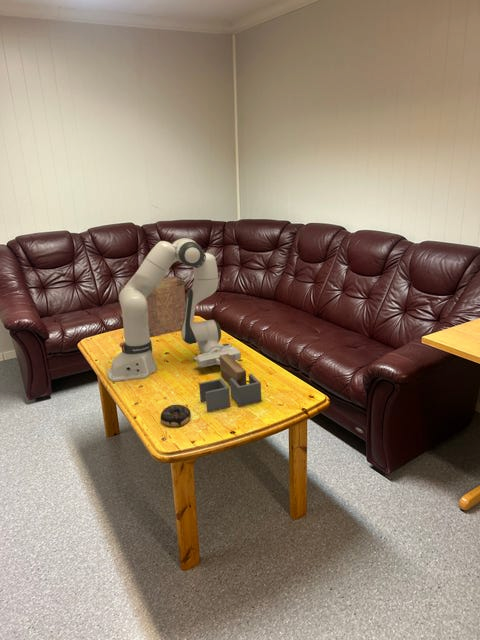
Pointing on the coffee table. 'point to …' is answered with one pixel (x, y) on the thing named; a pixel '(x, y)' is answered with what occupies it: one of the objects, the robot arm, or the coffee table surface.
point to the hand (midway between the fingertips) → (224, 363)
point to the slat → (232, 370)
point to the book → (166, 306)
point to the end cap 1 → (214, 394)
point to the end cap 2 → (246, 391)
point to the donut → (175, 415)
